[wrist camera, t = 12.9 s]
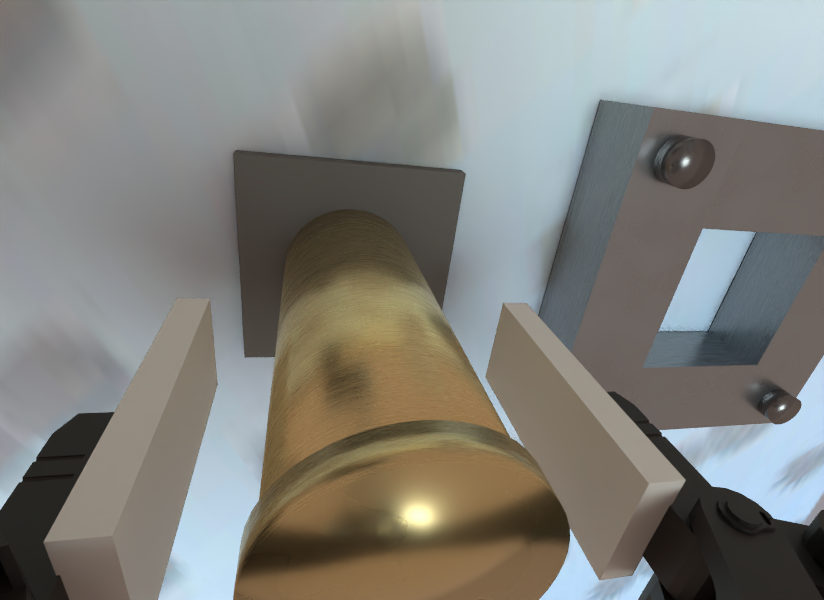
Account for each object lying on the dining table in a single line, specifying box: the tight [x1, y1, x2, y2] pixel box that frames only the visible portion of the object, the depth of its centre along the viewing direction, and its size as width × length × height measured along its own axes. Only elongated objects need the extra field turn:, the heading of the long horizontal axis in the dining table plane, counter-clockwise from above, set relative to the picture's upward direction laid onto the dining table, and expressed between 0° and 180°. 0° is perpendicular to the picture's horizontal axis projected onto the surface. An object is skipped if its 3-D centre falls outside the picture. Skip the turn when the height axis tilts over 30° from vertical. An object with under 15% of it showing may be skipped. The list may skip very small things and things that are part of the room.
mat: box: [233, 150, 465, 357], centre depth 17 cm, size 8×8×1 cm
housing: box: [539, 100, 824, 430], centre depth 20 cm, size 14×14×4 cm
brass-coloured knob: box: [233, 209, 570, 600], centre depth 12 cm, size 5×5×12 cm
